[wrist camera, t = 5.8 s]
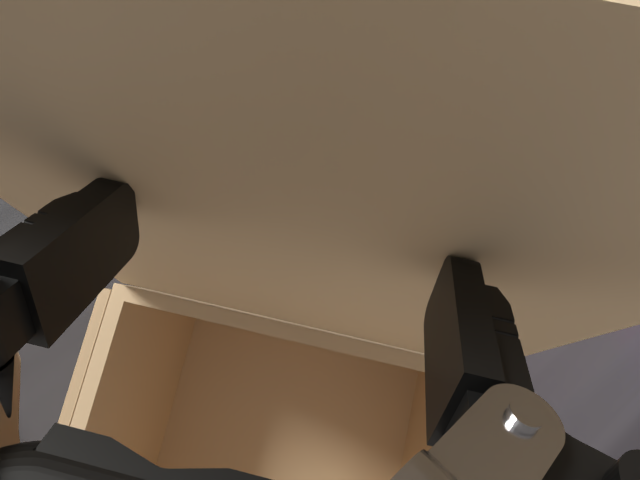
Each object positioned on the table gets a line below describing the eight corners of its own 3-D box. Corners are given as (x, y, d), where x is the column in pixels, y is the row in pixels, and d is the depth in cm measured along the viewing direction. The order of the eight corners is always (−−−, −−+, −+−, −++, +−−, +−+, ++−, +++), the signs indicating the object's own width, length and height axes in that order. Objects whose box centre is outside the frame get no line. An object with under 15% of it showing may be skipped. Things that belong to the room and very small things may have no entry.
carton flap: (1345, 130, 4) (1287, 58, 4) (-576, -205, 5) (-510, -240, 5) (484, 367, 22) (485, 351, 22) (121, 283, 23) (127, 268, 23)
